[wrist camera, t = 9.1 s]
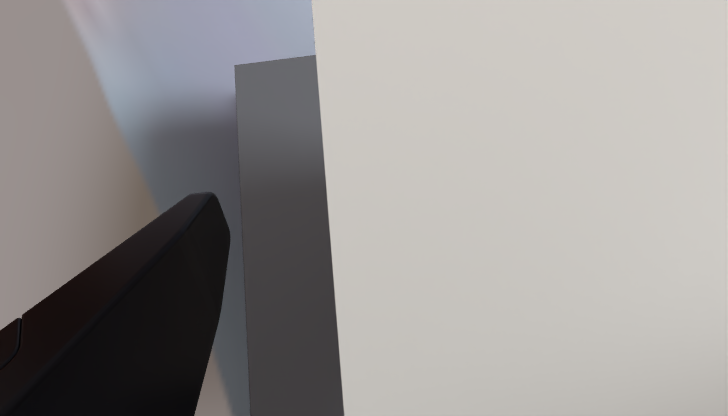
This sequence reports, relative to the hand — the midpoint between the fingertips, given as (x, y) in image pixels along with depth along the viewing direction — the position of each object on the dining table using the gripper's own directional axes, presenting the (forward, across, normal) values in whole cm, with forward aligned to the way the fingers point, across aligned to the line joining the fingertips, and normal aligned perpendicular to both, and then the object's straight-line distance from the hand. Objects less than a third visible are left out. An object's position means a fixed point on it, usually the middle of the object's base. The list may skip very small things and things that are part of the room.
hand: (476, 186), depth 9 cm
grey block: (+5, 0, +7) cm, 8 cm away
